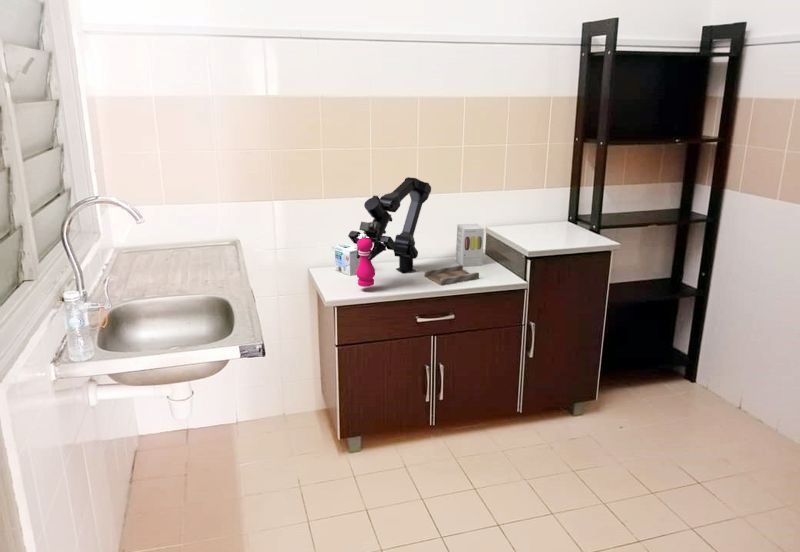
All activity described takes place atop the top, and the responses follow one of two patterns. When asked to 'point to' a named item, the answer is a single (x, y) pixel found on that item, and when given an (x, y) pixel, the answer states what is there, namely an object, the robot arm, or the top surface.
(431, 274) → the track board
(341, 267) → the light bulb box
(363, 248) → the pepper mill
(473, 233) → the supplement box
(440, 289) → the top surface
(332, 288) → the top surface
